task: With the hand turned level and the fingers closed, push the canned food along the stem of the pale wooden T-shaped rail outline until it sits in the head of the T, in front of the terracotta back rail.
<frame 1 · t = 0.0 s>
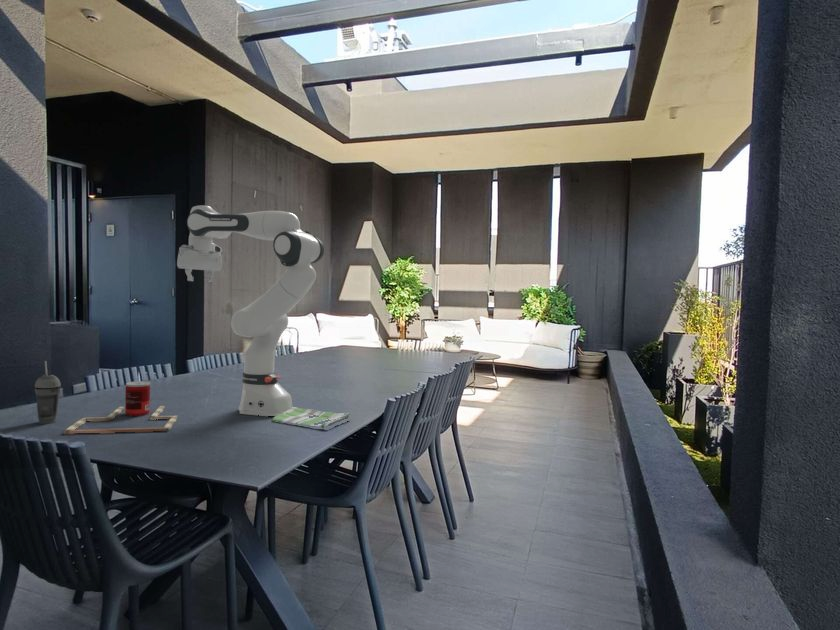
hand: (199, 281, 211), 48 cm above the table, tool pointing down, fingers open, 8 cm apart
beverage cup: (47, 422, 172), on the table
dish towel: (311, 423, 187), on the table
t outline: (124, 425, 171), on the table
canned food: (137, 414, 187), on the table
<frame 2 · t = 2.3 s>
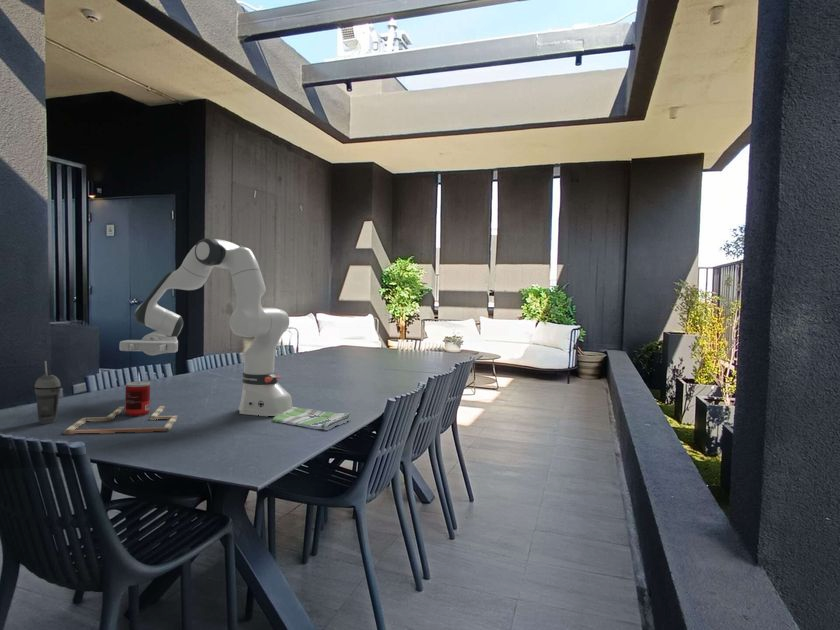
hand: (145, 348, 196), 22 cm above the table, tool horizontal, fingers open, 7 cm apart
nothing on the table moved.
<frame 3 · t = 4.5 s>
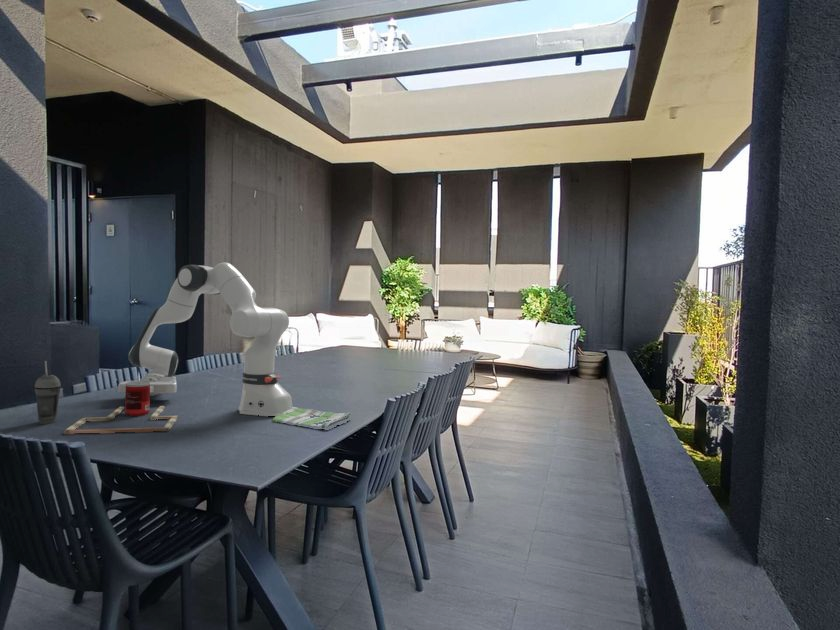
hand: (143, 391, 197), 6 cm above the table, tool horizontal, fingers closed
nothing on the table moved.
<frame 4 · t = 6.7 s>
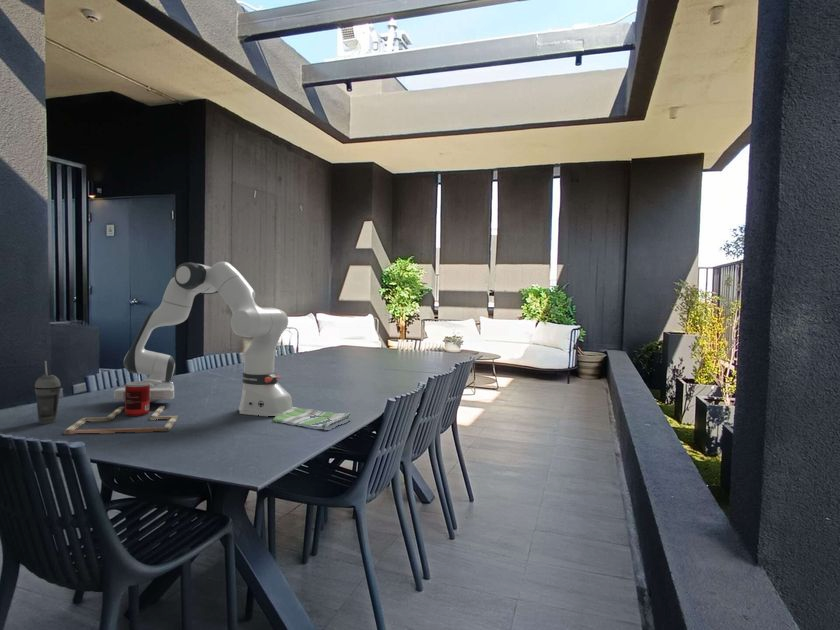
hand: (140, 397, 191), 5 cm above the table, tool horizontal, fingers closed, pressing on canned food
canned food: (137, 414, 187), on the table, touching gripper
everything else where it was.
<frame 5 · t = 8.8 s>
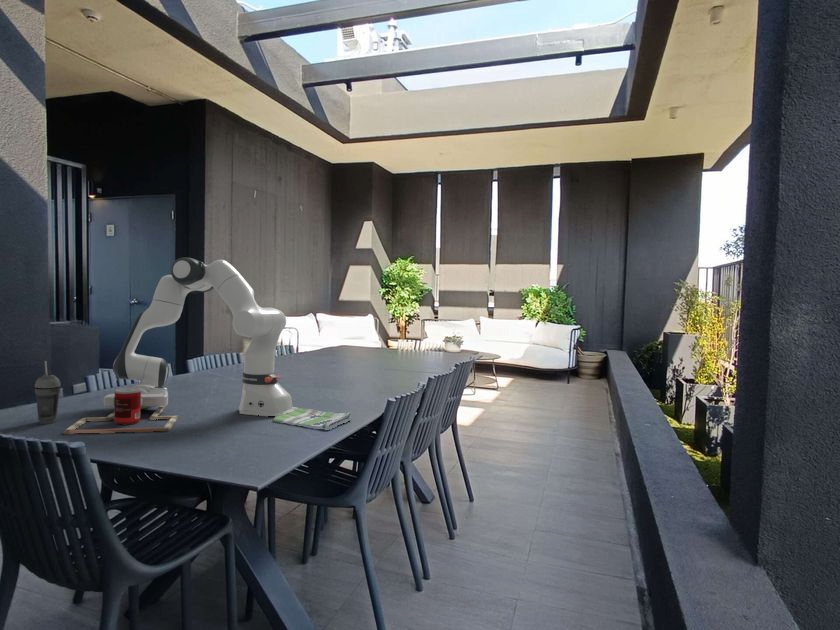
hand: (131, 404, 179), 5 cm above the table, tool horizontal, fingers closed, pressing on canned food
canned food: (127, 422, 176), on the table, touching gripper
everything else where it was.
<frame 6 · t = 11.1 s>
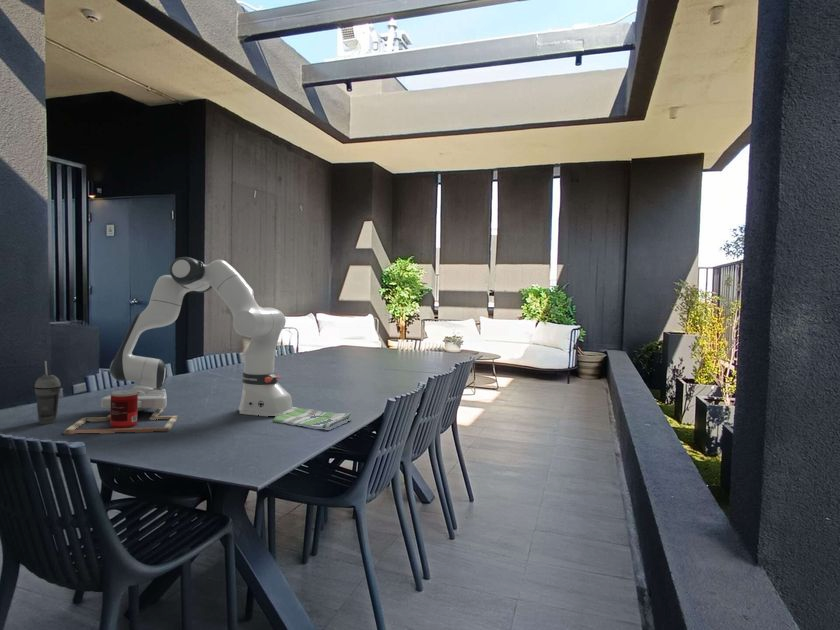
hand: (129, 406, 177), 5 cm above the table, tool horizontal, fingers closed
canned food: (123, 426, 172), on the table
everything else where it was.
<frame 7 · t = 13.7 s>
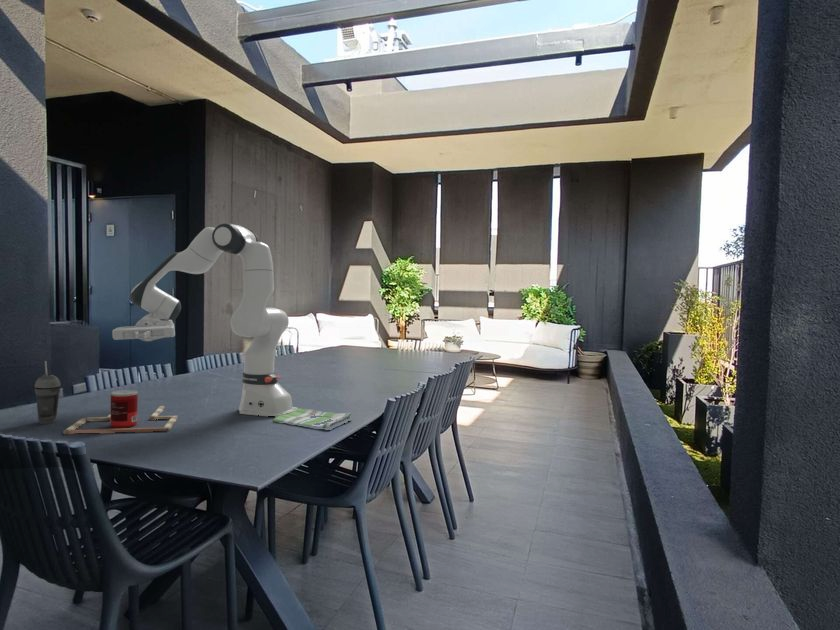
hand: (140, 336, 185), 28 cm above the table, tool horizontal, fingers closed
nothing on the table moved.
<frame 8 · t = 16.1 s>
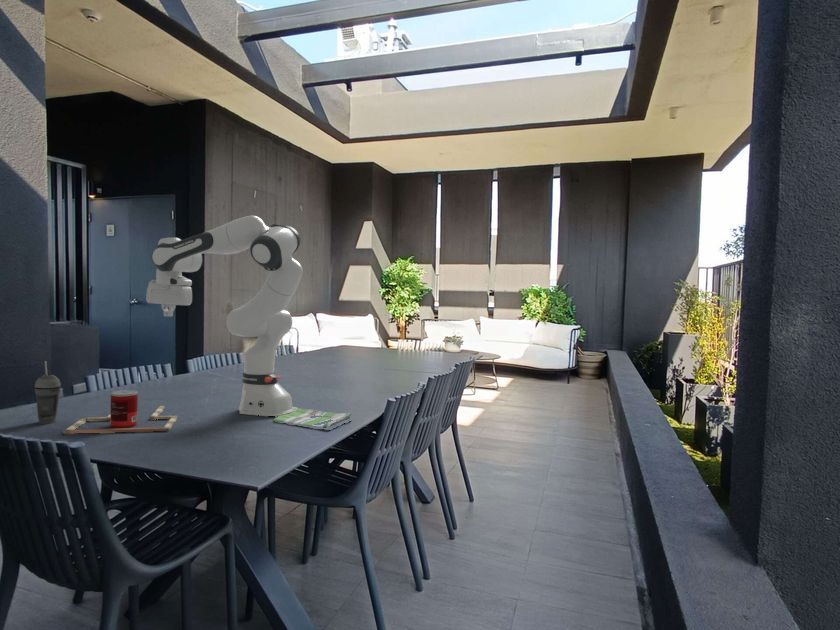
hand: (168, 316, 201), 34 cm above the table, tool pointing down, fingers closed
nothing on the table moved.
at the end: canned food 0.8 cm from the t outline (horizontally); canned food tilted 0° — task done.
